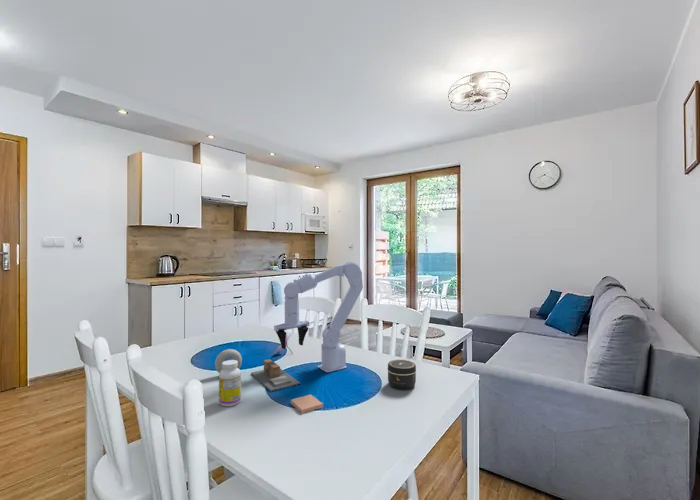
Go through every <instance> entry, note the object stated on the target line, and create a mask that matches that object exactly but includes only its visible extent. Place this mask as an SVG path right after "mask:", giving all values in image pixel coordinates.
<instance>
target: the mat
mask: <svg viewBox="0 0 700 500" xmlns="http://www.w3.org/2000/svg"><path fill="white" fill-rule="evenodd" d="M251 375H252V377H254V378H255V379H256V380H257V381H258V382H259V383H261V385H263V386H264V387H265V388H266V389H267V390H268V391H269V392H272V391H273V392H276V391H275V390H277V391H279V389H281V390H284V389H283V388H285V389H287V387H289V388H292V387H295V386H294V385H296V386H299V385H298V384H300V385H301V382H300V381H298V380H297V379H296V378H294V377H293V376H292V375H291V374H289V373H287V372H286V371H284V370H283V369H282V368H280V376H284V375H285V376H286V377H287V378H289V379H290V380H291V383H289V384H285V385H281V386H277V387H275V386H274V385H273V384H272V383H271V382H270V381H269V379H271V377H270V376H268V375H267V374H266V373H265V372H264V369H262V370H256V371H252V372H251ZM291 386H292V387H291Z"/></svg>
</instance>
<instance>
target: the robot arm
mask: <svg viewBox="0 0 700 500" xmlns="http://www.w3.org/2000/svg"><path fill="white" fill-rule="evenodd" d="M336 276H337V277H345V278H346V279H347V282H348V285H349V288H348V290H347V292H346V294H345V296H344V297H343V300H342V302H341V304H339V305H340V306H339V307H338V308H337V312H336V313H335V315H334V317H333V318H332V320H331V322H330V323H329V324H328V326H327V327H326V328H324V330H322V335H321V336H322V337H321V338H322V344H321V364H319V365H318V364H317V366H316V367H317V368H318V369H320V370H322V371H324V372H325V373H331V372H334V371H339V370H343V369H346V368H347V367H348V366H347V365H346V364H347V362H346V361H347V359H346V357H347V356H346V355H347V354H346V352H347V351H346V348H345V346H344V345H343V344H342V343H339V342H340V336H341V334H342V331H343V326H344V325H345V323H346V322H347V319H348V318H349V315H350V313H351V312H352V310H353V308H354V306H355V305H356V302H357V300H358V298H359V296H360V294H361V292H362V291H363V289H364V285H363V272H362V268H361V267H360V266H359V264H357V263H355V262H353V261H347V262H345V263H341V264H338V265H337V264H336V265H335V266H332V267H331V268H330V267H329V268H328V269H326V270H324V271H322V272H319V273H318V274H316V275H314V274H311V273H309V274H308V273H306V274H304V276H303V277H300V278H298V279H292V280H293V281H290V282H288V283H287V284H286V285H285V286H284V287H283V292H284V323H281V324H276V325H273V330H274V331H275V333H276V335H277V337H278V339H279V343H280V345H281V347H282V348H281V349H282V350H286V348H287V347H286V343H285V340H286V335H287V332H286V331H285V330H291V329H297V333H298V345H300V346H303V345H304V341H305V338H306V334H307V333H308V331H309V327H310V321H309V320H304V321H303V320H301V321H300V300H299V294H303V293H305V292H308V291H310V290H312V289H315V288H317V285H318V284H319V283H321V282H323V281H326V280H329V279H330V278H331V279H332V278H333V277H336ZM285 347H286V348H285Z"/></svg>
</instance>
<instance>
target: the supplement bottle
mask: <svg viewBox="0 0 700 500" xmlns="http://www.w3.org/2000/svg"><path fill="white" fill-rule="evenodd" d="M237 365H238V361H237V360H232V359H228V360H227V359H226V360H225V361H224V362H223V363H222V368H223V370H222V371H220V373H219V372H218V402H219V405H220V406H222V407H233V406H236V405H238V404H240V403H241V400H242V371H241V369H240V368H237Z"/></svg>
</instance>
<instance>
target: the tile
mask: <svg viewBox="0 0 700 500" xmlns="http://www.w3.org/2000/svg"><path fill="white" fill-rule="evenodd" d="M290 405H292V406H293V407H294V408H295V409H296V410H297V411H298V412H300V413H301V415H303V414H307V413H310V412H312V411H316V410H319V409H320V410H321V409H323V408H324V403H323V402H321V401H320V400H319V399H318V398H316V397H315V396H314V395H312V394H307V395H304V396H299V397H296V398H292V399H290ZM322 407H323V408H322ZM315 409H316V410H315Z"/></svg>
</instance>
